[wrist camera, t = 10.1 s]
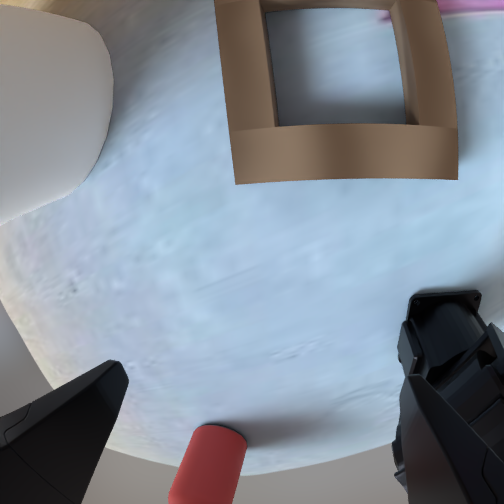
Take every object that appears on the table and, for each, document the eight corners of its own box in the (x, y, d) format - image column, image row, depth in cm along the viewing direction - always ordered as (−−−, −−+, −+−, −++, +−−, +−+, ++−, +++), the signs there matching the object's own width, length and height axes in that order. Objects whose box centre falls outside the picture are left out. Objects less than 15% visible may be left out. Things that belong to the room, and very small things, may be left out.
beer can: (192, 416, 30) (155, 502, 20) (248, 428, 29) (223, 521, 19) (198, 443, 33) (169, 518, 22) (248, 453, 32) (226, 533, 21)
